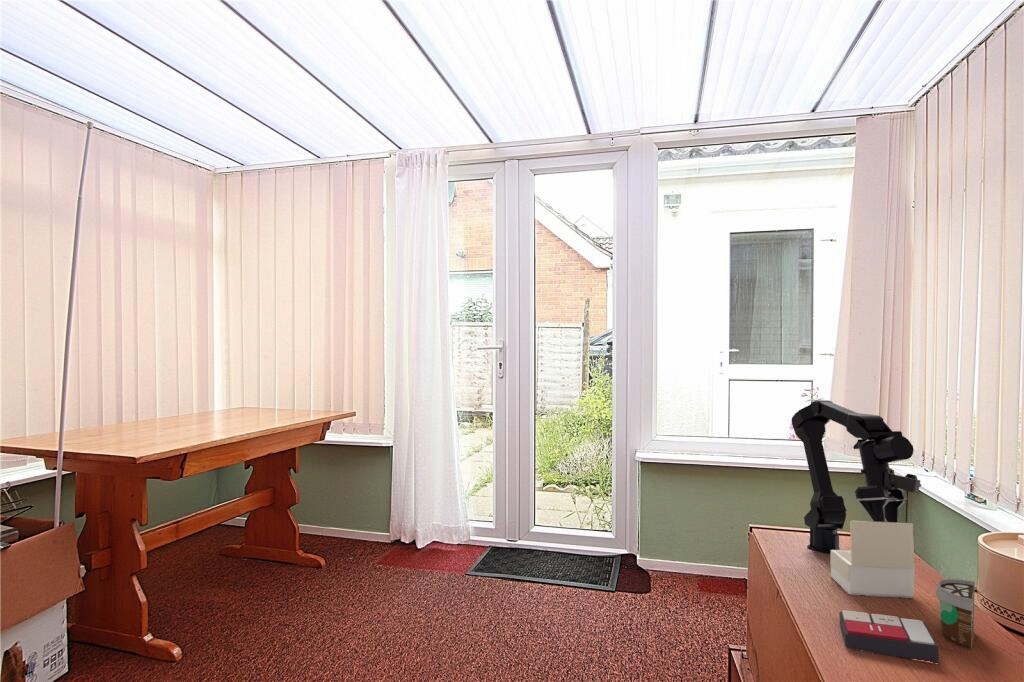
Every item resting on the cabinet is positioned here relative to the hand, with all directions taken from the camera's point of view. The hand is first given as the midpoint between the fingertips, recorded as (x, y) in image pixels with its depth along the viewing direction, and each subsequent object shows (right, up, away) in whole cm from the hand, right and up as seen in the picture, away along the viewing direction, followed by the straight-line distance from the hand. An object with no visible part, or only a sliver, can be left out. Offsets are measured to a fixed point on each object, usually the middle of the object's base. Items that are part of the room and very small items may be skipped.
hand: (889, 530), depth 147 cm
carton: (-6, -13, -2) cm, 14 cm away
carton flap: (-6, -1, -7) cm, 9 cm away
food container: (-3, -13, -25) cm, 29 cm away
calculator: (-18, -14, -29) cm, 37 cm away
